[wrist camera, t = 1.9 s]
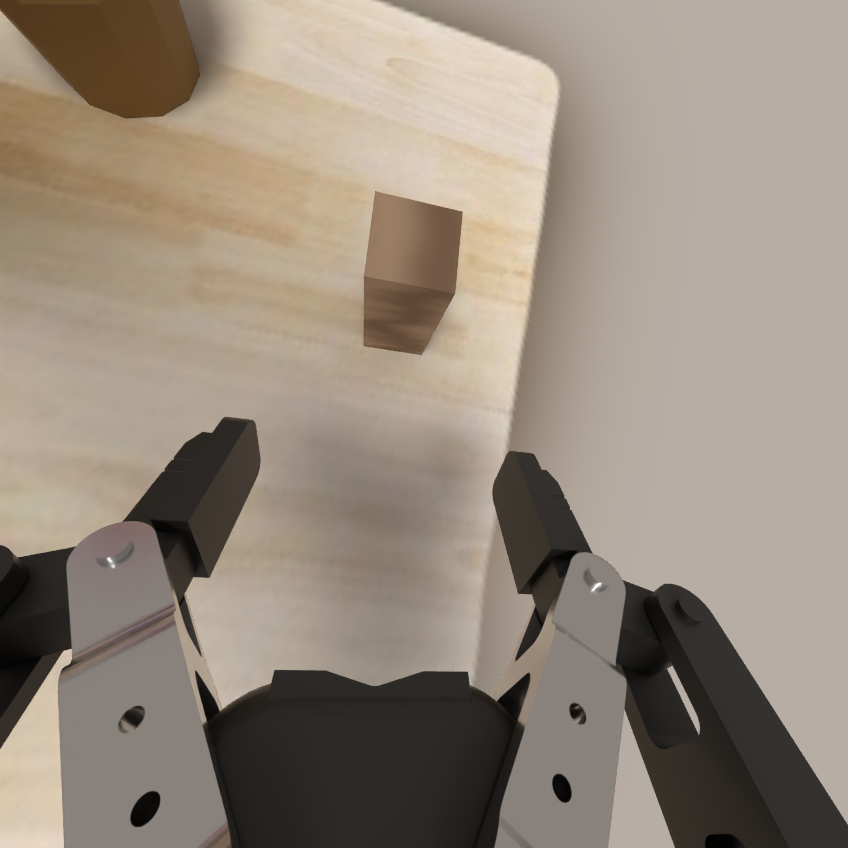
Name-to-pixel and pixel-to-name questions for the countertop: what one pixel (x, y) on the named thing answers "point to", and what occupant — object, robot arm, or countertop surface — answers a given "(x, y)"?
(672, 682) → the robot arm
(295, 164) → the countertop surface
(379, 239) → the walnut block
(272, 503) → the countertop surface
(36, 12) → the flowerpot
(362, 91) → the countertop surface
